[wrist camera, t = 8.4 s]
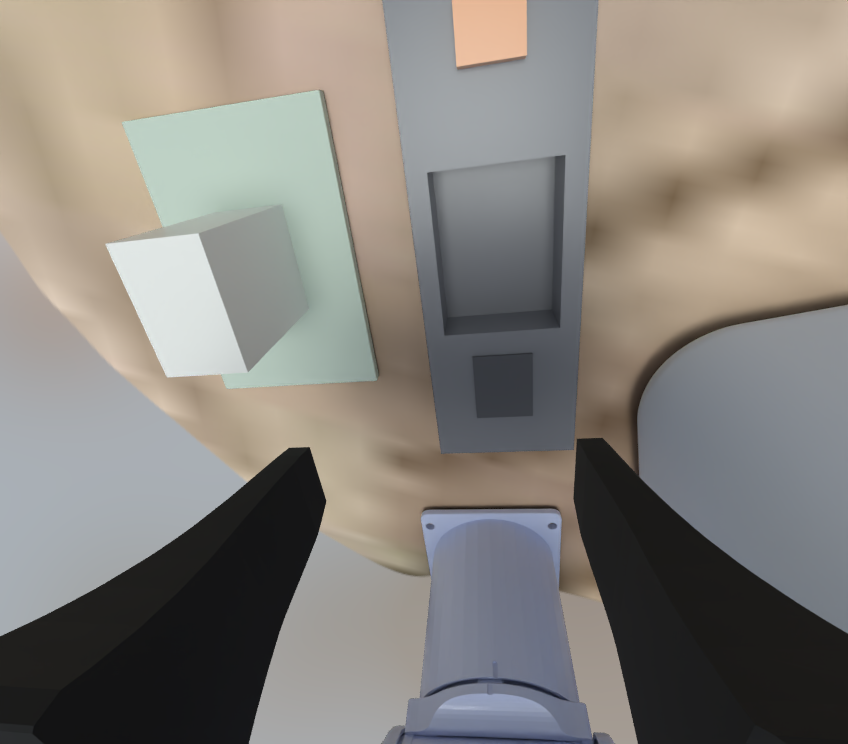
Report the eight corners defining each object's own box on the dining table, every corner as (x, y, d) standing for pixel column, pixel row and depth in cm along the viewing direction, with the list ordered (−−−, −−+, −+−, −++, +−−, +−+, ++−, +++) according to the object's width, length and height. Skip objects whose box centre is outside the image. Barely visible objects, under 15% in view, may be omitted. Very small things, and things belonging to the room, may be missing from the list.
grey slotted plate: (563, 417, 21) (576, 458, 19) (444, 422, 22) (440, 462, 20) (582, -72, 13) (611, -128, 10) (389, -33, 14) (369, -74, 11)
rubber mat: (378, 375, 21) (376, 380, 21) (231, 383, 22) (226, 388, 22) (323, 91, 16) (318, 89, 15) (130, 122, 17) (121, 122, 16)
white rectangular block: (309, 309, 19) (248, 372, 14) (248, 313, 20) (167, 377, 15) (281, 204, 17) (198, 233, 12) (214, 212, 18) (105, 244, 13)
